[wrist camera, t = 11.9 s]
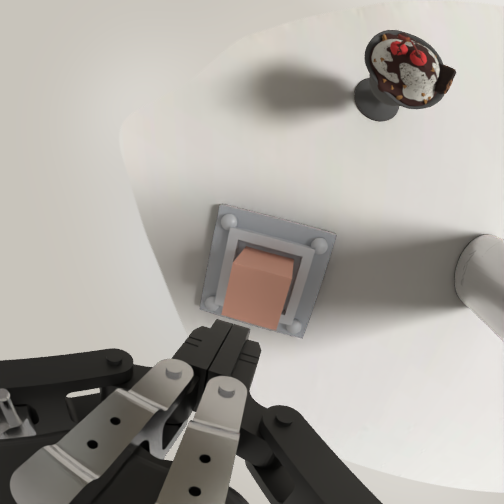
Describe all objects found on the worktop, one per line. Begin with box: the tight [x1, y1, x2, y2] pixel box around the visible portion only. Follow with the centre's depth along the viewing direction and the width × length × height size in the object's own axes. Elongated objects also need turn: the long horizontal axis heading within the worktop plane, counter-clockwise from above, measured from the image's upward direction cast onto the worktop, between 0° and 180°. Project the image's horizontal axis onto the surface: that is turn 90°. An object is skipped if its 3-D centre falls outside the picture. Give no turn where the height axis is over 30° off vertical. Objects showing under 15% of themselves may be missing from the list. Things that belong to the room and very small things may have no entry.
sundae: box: [355, 30, 456, 121], centre depth 18 cm, size 7×7×15 cm
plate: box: [200, 204, 336, 338], centre depth 30 cm, size 12×12×2 cm
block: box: [221, 246, 294, 330], centre depth 28 cm, size 5×5×6 cm
